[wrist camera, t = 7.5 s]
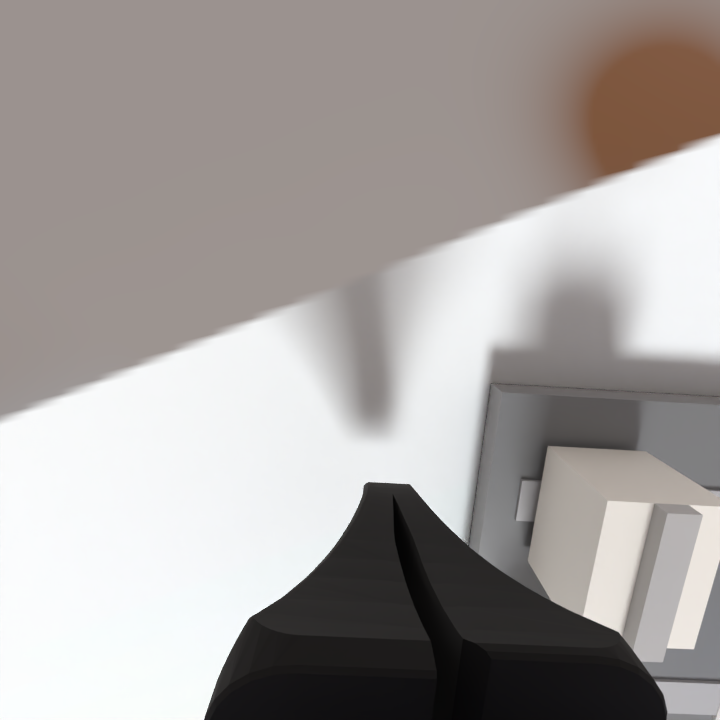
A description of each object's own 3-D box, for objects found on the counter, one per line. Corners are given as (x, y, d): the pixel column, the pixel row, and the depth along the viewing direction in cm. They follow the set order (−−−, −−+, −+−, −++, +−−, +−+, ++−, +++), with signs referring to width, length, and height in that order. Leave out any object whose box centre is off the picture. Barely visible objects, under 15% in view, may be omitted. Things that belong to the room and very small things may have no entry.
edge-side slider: (645, 451, 12) (751, 517, 9) (619, 565, 13) (706, 664, 10) (548, 445, 12) (618, 510, 9) (527, 561, 13) (585, 658, 10)
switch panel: (849, 404, 14) (893, 416, 12) (691, 872, 18) (713, 911, 17) (491, 383, 13) (503, 393, 12) (424, 864, 18) (429, 903, 17)
